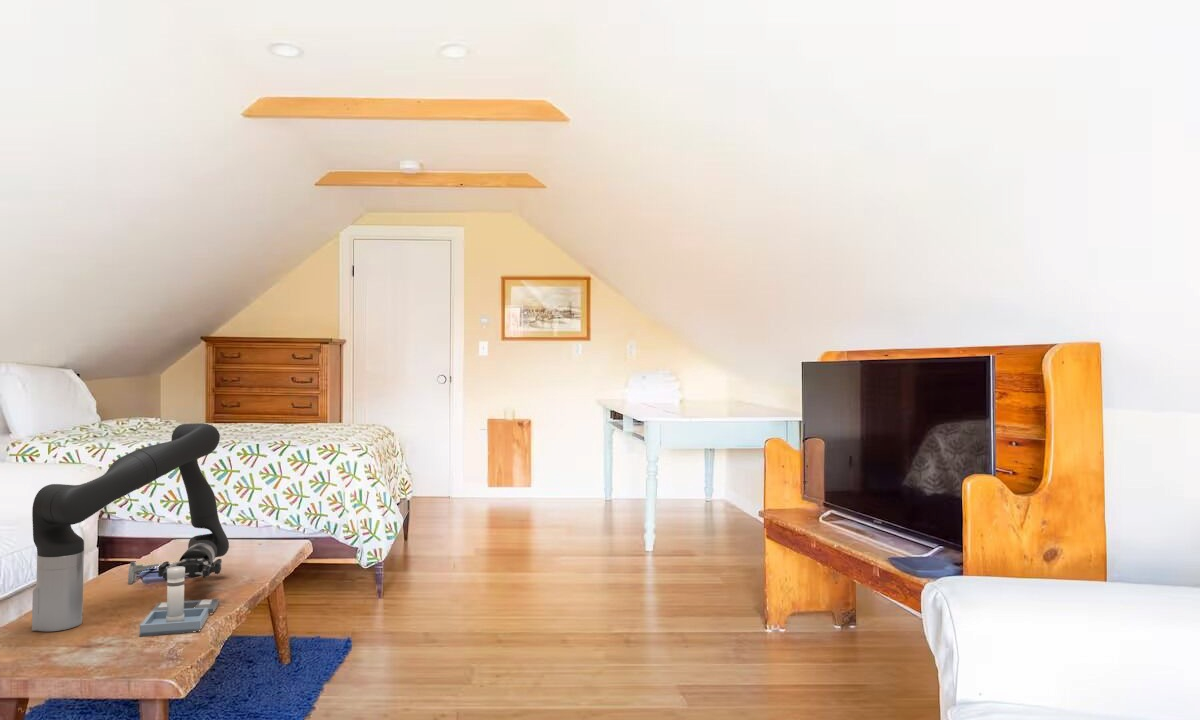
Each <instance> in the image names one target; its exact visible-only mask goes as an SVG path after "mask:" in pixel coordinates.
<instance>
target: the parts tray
mask: <svg viewBox="0 0 1200 720" xmlns="http://www.w3.org/2000/svg"><path fill="white" fill-rule="evenodd" d="M166 615H167V610H161V611H152V610H151V611H150V612H149V614H148V615H147V616H146V617H145V619H144V620H143V621H142V622H141V623H140V625H139V637H148V636H149V637H150V636H163V635H165V634H166V635H174V634H173V633H180V634H184V633H183V632H193V631H199V630H200V629H201V627H202V626H203V624H204V622H205V621H206V619H207V617H208V618H209V615H208V608H192V609H184V621H182V622H168V623H166ZM207 620H208V619H207ZM206 622H207V621H206ZM206 622H205V623H206ZM204 625H205V624H204ZM203 627H204V626H203ZM201 630H202V629H201ZM166 635H165V636H166Z"/></svg>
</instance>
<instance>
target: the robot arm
mask: <svg viewBox="0 0 1200 720" xmlns="http://www.w3.org/2000/svg"><path fill="white" fill-rule="evenodd" d="M220 439H221V435H220V431H219V430H218V429H217V428H216V427H215V426H213V425H211V424H209V423H205V422H204V423H202V422H201V423H197V422H196V423H183V424H179V425H178V426H176V427H175V429H173V431H172V434H171V440H170V441H165V442H160V443H156V444H152V445H147V446H145V447H142V448H139V449H135V450H133V451H132V452H129V453H127V454H125V455H122V456H121V457H119V458H117V459H116V460H115V461H114V462H113V463H112V464H111V465H110V466H109V468H108V469H107V470H106V472H105V473H104V474H102V475H101V476H99V477H97V478H95V479H92V480H90V481H87V482H85V483H81V484H62V483H59V484H58V483H52V484H48V485H45V486H43V487H42V488H41V489H39V490H38V492H37V493H36V495H35V497H34V499H33V503H32V508H31V509H32V510H31V515H32V516H31V520H32V540H33V544H34V545H35V547H36V582H35V583H36V584H35V585H36V587H34V588H33V589H32V606H31V607H32V610H31V613H32V614H31V631H38V632H59V631H64V630H69V629H73V628H76V627H78V626H81V624H82V623H83V616H84V612H83V609H84V608H83V607H84V605H83V603H84V571H85V569H84V568H85V566H84V565H85V563H84V562H85V561H84V559H85V541H84V538H83V537H81V536H80V535H78V534H77V533H76V532H75V531H74V530H73V528H72V525H76V524H79V523H82V522H84V521H85V520H87V519H89V518H90V517H92V516H93V515H94V514H96V513H99V511H100V510H102V509H104V508H105V507H107V506H108V505H110V504H111V503H114V502H115V501H117V500H119V499H121V498H123V497H125V496H126V495H129V494H131V493H133V492H134V491H137V490H138V489H140V488H142V487H144V486H147V485H149V484H151V483H152V482H154V481H156V480H158V479H159V478H161V477H163V476H165V475H166V474H167V475H168V473H169V474H170V472H172V471H174V470H176V469H178V470H179V472H180V475H181V478H182V481H183V484H184V487H185V491H186V496H187V501H188V507H189V515H190V516H189V517H190V523H191V525H192V527H193V528H196V529H203V530H204V529H205V530H208V531H210V532H211V533H207V534H206V533H205V534H198V535H195V536H193V537H191V538H190V539H189V540H188V543H187V549H186V551H185V552H184V553H183V554H182V555H181V557H179V559H178V561H175V562H173V563H172V564H171V563H170V561H168V560H167V561H164V562H163V563H161V564H160V566H159V567H158V568H157V570H158V574H157V577H159V578H162V579H164V581H167V569H168V568H170V567H176V566H183V567H185V576H186V577H188V578H195V579H196V578H199V577H202V579H206V578H207V577H208V576H209V577H210V576H211V575H213V573H214V574H215V575H218V574H220V573H221V570H222V562H223V561H222V558H221V557H223V556H225V555H226V554H227V553H228V551H229V549H230V544H229V543H230V542H229V539H228V537H227V534H226V532H225V530H224V529H223V527H222V524H221V521H220V518H219V512H218V505H217V499H216V495H215V493H214V491H213V489H212V487H211V486H210V484H209V482H208V480H207V479H206V477H205V476H204V474H203V473H202V471H201V468H200V465H199V462H198V459H201V458H203V457H206V456H208V455H210V454H211V453H213V452H214V451H215V450H216V449H217V447H218V445H219V443H220ZM216 558H218V559H216ZM215 559H216V560H215Z"/></svg>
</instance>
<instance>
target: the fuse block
mask: <svg viewBox="0 0 1200 720" xmlns="http://www.w3.org/2000/svg"><path fill="white" fill-rule="evenodd" d="M219 603H220V599H219V598H210V599H209V598H208V599H194V600H191V599H190V600H184V609H192V608H194V607H195V608H208V614H210V613H213V612H214V611H215V612H216V610H217V609H216V607H217V606H218V607H219V605H220V604H219ZM218 604H219V605H218ZM218 607H217V608H218ZM215 609H216V610H215ZM161 610H167V601H161V602H160V601H159V602H158V603H156V605H155V606H154V607H153V609H152V610H151V611H161ZM215 612H214V613H215Z"/></svg>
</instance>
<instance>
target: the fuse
mask: <svg viewBox="0 0 1200 720" xmlns="http://www.w3.org/2000/svg"><path fill="white" fill-rule="evenodd" d="M185 582H186V581H185V567H183V566H176V567H170V568H168V569H167V580H166V588H167V589H166V602H167V615H166V623H168V622H182V621H184V601H185Z"/></svg>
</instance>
